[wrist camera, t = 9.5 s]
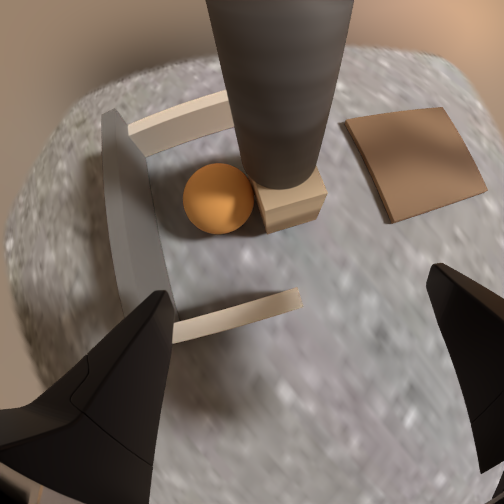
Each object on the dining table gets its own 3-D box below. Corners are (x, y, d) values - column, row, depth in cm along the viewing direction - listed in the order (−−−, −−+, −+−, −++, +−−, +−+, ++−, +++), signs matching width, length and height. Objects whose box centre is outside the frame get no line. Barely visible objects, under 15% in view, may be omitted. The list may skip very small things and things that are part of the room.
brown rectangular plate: (484, 192, 17) (487, 190, 17) (391, 223, 17) (394, 221, 17) (440, 110, 19) (442, 107, 18) (344, 123, 19) (345, 119, 18)
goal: (298, 307, 17) (308, 306, 12) (170, 343, 17) (133, 353, 12) (233, 116, 20) (223, 68, 15) (132, 151, 20) (101, 114, 15)
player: (320, 217, 17) (401, 31, 4) (262, 235, 17) (230, 47, 4) (292, 148, 18) (305, -44, 5) (238, 163, 18) (190, -29, 5)
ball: (177, 239, 14) (213, 248, 18) (247, 208, 13) (272, 224, 17) (163, 172, 15) (198, 192, 19) (225, 139, 14) (252, 167, 18)
